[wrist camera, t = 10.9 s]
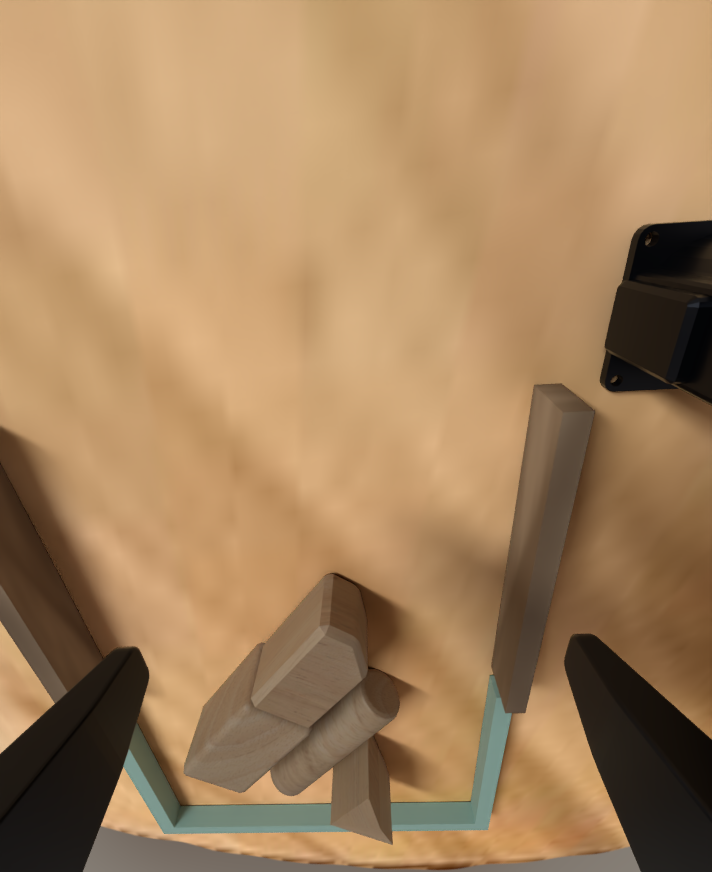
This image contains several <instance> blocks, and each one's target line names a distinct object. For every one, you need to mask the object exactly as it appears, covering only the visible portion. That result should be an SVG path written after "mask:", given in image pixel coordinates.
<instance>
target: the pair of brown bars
mask: <svg viewBox="0 0 712 872" xmlns="http://www.w3.org/2000/svg"><path fill="white" fill-rule="evenodd" d="M594 414H595V410H593V409H592V408H591V407H590V406H588V405H587V404H586V403H585V402H583V401H582V400H581V399H580V398H578V397H577V396H576V395H575V394H574V393H572V392H571V391H570V390H569V389H567V388H566V387H565V386H564V385H562V384H543V385H534V389H533V396H532V402H531V409H530V415H529V422H528V429H527V435H526V442H525V448H524V455H523V461H522V468H521V475H520V481H519V488H518V494H517V501H516V507H515V514H514V521H513V527H512V534H511V540H510V547H509V553H508V560H507V567H506V573H505V580H504V586H503V593H502V599H501V606H500V613H499V619H498V626H497V632H496V639H495V646H494V652H493V659H492V665H491V667H492V670H493V673H494V677H495V680H496V684H497V687H498V690H499V694H500V697H501V701H502V704H503V707H504V711H505V713H525V712H526V708H527V703H528V699H529V695H530V690H531V686H532V682H533V678H534V673H535V669H536V665H537V660H538V656H539V652H540V647H541V643H542V639H543V634H544V630H545V626H546V621H547V617H548V613H549V608H550V604H551V600H552V595H553V591H554V587H555V582H556V578H557V574H558V569H559V565H560V561H561V556H562V552H563V548H564V543H565V539H566V535H567V530H568V526H569V522H570V517H571V513H572V509H573V505H574V500H575V496H576V492H577V487H578V483H579V479H580V474H581V470H582V466H583V461H584V457H585V453H586V448H587V444H588V440H589V435H590V431H591V427H592V422H593V418H594ZM0 621H1V623H2V624H3V626H4V627H5V629H6V630H7V632H8V633H9V635H10V636H11V638H12V639H13V641H14V642H15V644H16V645H17V647H18V648H19V650H20V651H21V653H22V654H23V656H24V657H25V659H26V660H27V662H28V663H29V665H30V666H31V668H32V669H33V671H34V672H35V674H36V675H37V677H38V678H39V680H40V681H41V683H42V684H43V686H44V687H45V689H46V690H47V692H48V693H49V695H50V697H51V698H52V700H53V701H54V703H56V702H57V701H58V700H60V699H61V698H62V697H63V696H64V695H65V694H66V693H67V692H68V691H69V690H70V689H71V688H73V687H74V686H75V685H76V684H77V683H78V682H79V681H80V680H81V679H82V678H83V677H85V676H86V675H87V674H88V673H89V672H90V671H91V670H92V669H93V668H94V667H95V666H97V665H98V664H99V663H100V662H101V661H102V660H103V658H102V656H101V654H100V652H99V650H98V648H97V646H96V644H95V642H94V641H93V639H92V637H91V635H90V633H89V631H88V629H87V627H86V625H85V623H84V622H83V620H82V618H81V616H80V614H79V612H78V610H77V608H76V606H75V605H74V603H73V601H72V599H71V597H70V595H69V593H68V591H67V589H66V587H65V586H64V584H63V582H62V580H61V578H60V576H59V574H58V572H57V570H56V568H55V567H54V565H53V563H52V561H51V559H50V557H49V555H48V553H47V551H46V549H45V548H44V546H43V544H42V542H41V540H40V538H39V536H38V534H37V532H36V531H35V529H34V527H33V525H32V523H31V521H30V519H29V517H28V515H27V513H26V512H25V510H24V508H23V506H22V504H21V502H20V500H19V498H18V496H17V494H16V493H15V491H14V489H13V487H12V485H11V483H10V481H9V479H8V477H7V475H6V474H5V472H4V470H3V468H2V466H1V464H0Z"/></svg>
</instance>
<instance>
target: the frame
mask: <svg viewBox="0 0 712 872" xmlns="http://www.w3.org/2000/svg"><path fill="white" fill-rule="evenodd" d="M511 715H512V713H505V711H504V707H503V704H502V701H501V697H500V694H499V690H498V687H497V684H496V680H495V677H494V675H490V678H489V685H488V692H487V698H486V705H485V711H484V718H483V724H482V731H481V738H480V744H479V751H478V757H477V764H476V770H475V777H474V784H473V790H472V797H471V802H424V803H391V821H392V831H444V830H488V827H489V822H490V817H491V812H492V807H493V802H494V798H495V793H496V788H497V783H498V778H499V773H500V768H501V764H502V759H503V754H504V749H505V744H506V739H507V734H508V729H509V725H510V720H511ZM123 767H124V768H125V770H126V772H127V773H128V775H129V777H130V778H131V780H132V782H133V783H134V785H135V786H136V788H137V790H138V791H139V793H140V795H141V796H142V798H143V800H144V801H145V803H146V805H147V806H148V808H149V810H150V811H151V813H152V815H153V816H154V818H155V820H156V821H157V823H158V824H159V826H160V828H161V829H162V831H163V833H164V834H193V833H277V832H351V831H348V830H345V829H342V828H339V827H336V826H332V825H330V821H331V804H283V805H213V806H180V804H179V802H178V800H177V798H176V796H175V794H174V792H173V790H172V789H171V787H170V785H169V783H168V781H167V779H166V777H165V775H164V773H163V771H162V770H161V768H160V766H159V764H158V762H157V760H156V758H155V756H154V754H153V753H152V751H151V749H150V747H149V745H148V743H147V741H146V739H145V737H144V735H143V734H142V732H141V730H140V728H139V726H138V724H137V723H136V726H135V730H134V733H133V736H132V740H131V743H130V747H129V750H128V753H127V757H126V760H125V763H124V766H123Z"/></svg>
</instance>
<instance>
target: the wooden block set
mask: <svg viewBox="0 0 712 872" xmlns="http://www.w3.org/2000/svg"><path fill="white" fill-rule="evenodd" d="M399 706H400V701H399V695H398V692H397V689H396V687H395V685H394V683H393V682H392V680H391V679H390V678H389V677H388V676H387V675H386V674H385V673H383V672H382V671H380V670H377V669H368V651H367V616H366V612H365V609H364V605H363V601H362V597H361V593H360V590H359V589H358V588H357V587H356V586H355V585H354V584H352V583H350V582H348V581H346V580H344V579H342V578H340V577H338V576H336V575H334V574H327V575H325V576H324V577H323V578H322V579H321V580H320V581H319V583H318V584H317V585H316V586H315V587H314V588H313V589H312V591H311V592H310V593H309V594H308V595H307V596H306V597H305V598H304V600H303V601H302V602H301V603H300V604H299V605H298V606H297V608H296V609H295V610H294V611H293V612H292V613H291V614H290V616H289V617H288V618H287V619H286V620H285V621H284V622H283V623H282V625H281V626H280V627H279V628H278V629H277V630H276V631H275V633H274V634H273V635H272V636H271V637H270V638H269V639H268V641H267V642H266V643H259V644H257V645H256V647H255V648H254V649H253V650H252V651H251V652H250V653H249V655H248V656H247V657H246V658H245V659H244V660H243V661H242V663H241V664H240V665H239V666H238V667H237V668H236V670H235V671H234V672H233V673H232V674H231V675H230V676H229V678H228V679H227V680H226V681H225V682H224V683H223V684H222V686H221V687H220V688H219V689H218V690H217V691H216V693H215V694H214V695H213V696H212V697H211V698H210V699H209V701H208V702H207V703H206V704H205V705H204V706H203V709H202V712H201V716H200V719H199V722H198V725H197V728H196V731H195V734H194V737H193V740H192V743H191V746H190V749H189V752H188V755H187V758H186V761H185V764H184V774H185V775H186V776H189V777H192V778H195V779H198V780H201V781H204V782H208V783H211V784H214V785H217V786H220V787H223V788H226V789H229V790H232V791H235V792H238V793H242V792H245V791H246V790H247V789H248V788H250V787H251V786H252V785H253V784H254V783H255V782H256V781H257V780H259V779H260V778H261V777H262V776H263V775H264V774H265V773H267V772H268V771H269V770H270V772H271V778H272V781H273V783H274V785H275V787H276V788H277V789H278V790H279V791H280V792H281V793H282V794H285V795H288V796H295V795H298V794H299V793H301V792H302V791H303V790H304V789H306V788H307V787H308V786H310V785H311V784H312V783H313V782H315V781H316V780H317V779H318V778H320V777H321V776H322V775H323V774H325V773H326V772H327V771H329V770H330V769H331V768H332V767H333V783H332V802H331V821H330V825H332V826H336V827H339V828H342V829H345V830H348V831H351V832H354V833H357V834H360V835H363V836H367V837H370V838H373V839H376V840H379V841H382V842H385V843H388V844H391V845H393V841H392V821H391V800H390V780H389V773H388V770H387V767H386V764H385V761H384V759H383V757H382V754H381V752H380V750H379V748H378V745H377V743H376V741H375V739H374V736H373V735H374V734H375V733H377V732H378V731H379V730H381V729H382V728H383V727H384V726H386V725H387V724H388V723H389V722H391V721H392V720H393V719H394V718H395V717H396V715H397V713H398V710H399Z"/></svg>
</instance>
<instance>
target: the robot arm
mask: <svg viewBox="0 0 712 872" xmlns="http://www.w3.org/2000/svg"><path fill="white" fill-rule="evenodd" d="M650 232H651V233H652V240H651V242H650V243H649V244H648V245H645V238H646V236H647V235H648V234H649V233H650ZM605 348H606V355H605V359H604V363H603V368H602V372H601V377H600V383H601V385H602V386H603V387H605V388H606V389H608V390H609V391H614V392H615V391H637V390H658V389H681V390H683V391H685V392H687V393H688V394H690V395H692V396H694V397H696V398H698V399H700V400H702V401H704V402H706V403H708V404H709V405H711V406H712V220H706V221H689V222H673V223H656V224H647V225H643V226H642V227H640V228H639V229H638V230H637V231H636V232H635V233H634V235H633V238H632V241H631V245H630V250H629V254H628V258H627V263H626V267H625V271H624V276H623V280H622V283H621V284H620V285H619V287H618V288H617V293H616V297H615V302H614V306H613V311H612V315H611V319H610V324H609V328H608V333H607V337H606V342H605ZM616 375H618V378H617V380H616V381H615V382H613V383H611V379H612V378H613V377H614V376H616ZM564 665H565V671H566V674H567V677H568V680H569V684H570V687H571V690H572V693H573V696H574V699H575V703H576V706H577V709H578V712H579V715H580V718H581V722H582V725H583V728H584V731H585V734H586V737H587V741H588V744H589V746H590V749H591V752H592V755H593V758H594V760H595V763H596V766H597V768H598V771H599V773H600V775H601V778H602V780H603V783H604V785H605V787H606V790H607V792H608V794H609V797H610V799H611V802H612V804H613V806H614V809H615V811H616V813H617V816H618V818H619V821H620V823H621V825H622V828H623V830H624V833H625V835H626V837H627V840H628V842H629V844H630V847H631V849H632V852H633V854H634V856H635V859H636V861H637V863H638V866H639V868H640V871H641V872H712V739H710V738H709V737H708V736H707V735H706V734H705V733H704V732H703V731H702V730H700V729H699V728H698V727H697V726H696V725H695V724H694V723H693V722H691V721H690V720H689V719H688V718H687V717H686V716H685V715H684V714H683V713H681V712H680V711H679V710H678V709H677V708H676V707H675V706H674V705H673V704H671V703H670V702H669V701H668V700H667V699H666V698H665V697H664V696H662V695H661V694H660V693H659V692H658V691H657V690H656V689H655V688H654V687H652V686H651V685H650V684H649V683H648V682H647V681H646V680H645V679H644V678H642V677H641V676H640V675H639V674H638V673H637V672H636V671H635V670H633V669H632V668H631V667H630V666H629V665H628V664H627V663H626V662H625V661H623V660H622V659H621V658H620V657H619V656H618V655H617V654H616V653H615V652H613V651H612V650H611V649H610V648H609V647H608V646H607V645H606V644H604V643H603V642H602V641H601V640H600V639H599V638H598V637H596V636H595V635H593V634H573V635H572V636H571V638H570V641H569V644H568V648H567V651H566V655H565V660H564ZM148 681H149V670H148V667H147V665H146V663H145V661H144V658H143V656H142V654H141V652H140V650H139V648H137V647H118V648H116V649H115V650H113V651H112V652H111V653H110V654H109V655H107V656H106V657H105V658H104V659H103V660H102V661H101V662H100V663H99V664H98V665H97V666H95V667H94V668H93V669H92V670H91V671H90V672H89V673H88V674H87V675H86V676H85V677H83V678H82V679H81V680H80V681H79V682H78V683H77V684H76V685H75V686H74V687H73V688H71V689H70V690H69V691H68V692H67V693H66V694H65V695H64V696H63V697H62V698H61V699H60V700H58V701H57V702H56V703H55V704H54V705H53V706H52V707H51V708H50V709H49V710H48V711H46V712H45V713H44V714H43V715H42V716H41V717H40V718H39V719H38V720H37V721H36V722H34V723H33V724H32V725H31V726H30V727H29V728H28V729H27V730H26V731H25V732H24V733H22V734H21V735H20V736H19V737H18V738H17V739H16V740H15V741H14V742H13V743H12V744H11V745H9V746H8V747H7V748H6V749H5V750H4V751H3V752H2V753H1V754H0V872H83V870H84V867H85V864H86V862H87V859H88V857H89V854H90V851H91V849H92V846H93V844H94V841H95V839H96V836H97V833H98V831H99V828H100V826H101V823H102V821H103V818H104V816H105V813H106V810H107V808H108V805H109V803H110V800H111V798H112V795H113V792H114V790H115V787H116V785H117V782H118V779H119V777H120V774H121V771H122V769H123V766H124V763H125V760H126V757H127V753H128V750H129V747H130V743H131V740H132V736H133V733H134V730H135V726H136V723H137V719H138V716H139V712H140V709H141V705H142V702H143V699H144V695H145V692H146V688H147V685H148Z"/></svg>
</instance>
